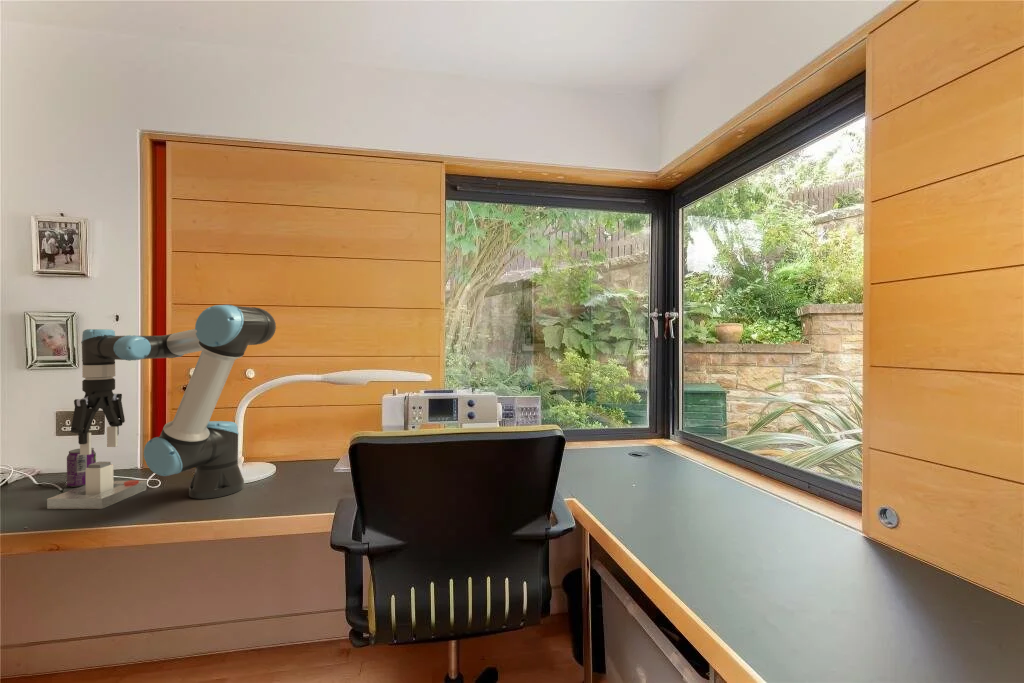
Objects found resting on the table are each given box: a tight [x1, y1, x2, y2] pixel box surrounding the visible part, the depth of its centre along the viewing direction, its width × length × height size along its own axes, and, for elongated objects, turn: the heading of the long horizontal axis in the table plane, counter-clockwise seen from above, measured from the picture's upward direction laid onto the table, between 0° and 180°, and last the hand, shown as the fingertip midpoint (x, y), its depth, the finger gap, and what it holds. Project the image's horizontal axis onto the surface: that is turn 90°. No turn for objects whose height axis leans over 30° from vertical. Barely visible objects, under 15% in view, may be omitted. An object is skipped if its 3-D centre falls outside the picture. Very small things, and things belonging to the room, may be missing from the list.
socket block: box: [46, 479, 147, 510], centre depth 137 cm, size 16×16×4 cm
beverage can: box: [66, 447, 97, 488], centre depth 150 cm, size 7×7×12 cm
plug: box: [86, 461, 114, 495], centre depth 137 cm, size 4×4×11 cm
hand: (99, 450), depth 137 cm, fingers open, 8 cm apart
